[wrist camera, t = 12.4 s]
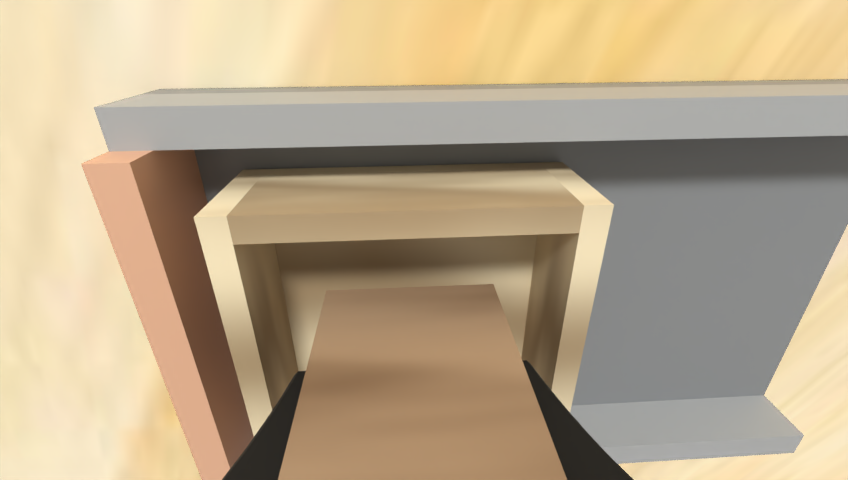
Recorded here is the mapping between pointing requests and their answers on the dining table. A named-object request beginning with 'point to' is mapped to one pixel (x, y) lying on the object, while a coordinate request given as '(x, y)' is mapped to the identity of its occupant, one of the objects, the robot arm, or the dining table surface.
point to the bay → (523, 143)
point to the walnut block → (417, 392)
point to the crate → (401, 256)
